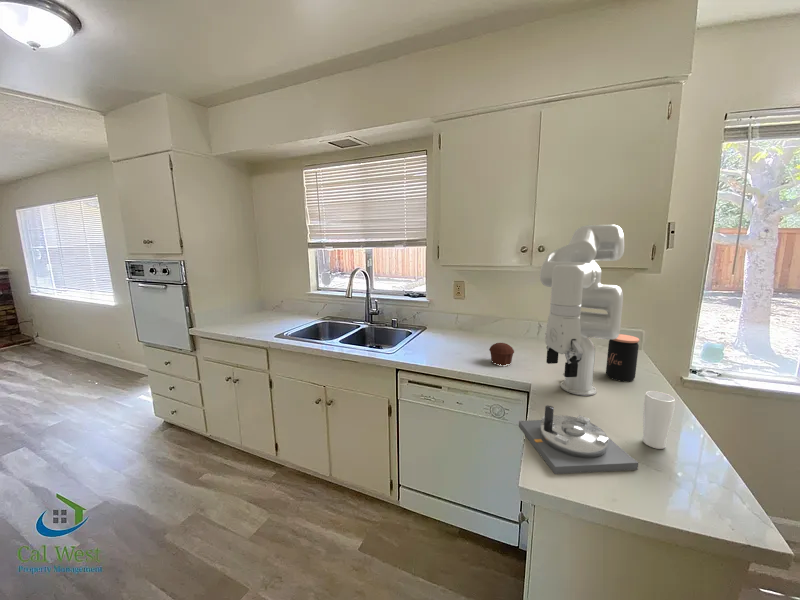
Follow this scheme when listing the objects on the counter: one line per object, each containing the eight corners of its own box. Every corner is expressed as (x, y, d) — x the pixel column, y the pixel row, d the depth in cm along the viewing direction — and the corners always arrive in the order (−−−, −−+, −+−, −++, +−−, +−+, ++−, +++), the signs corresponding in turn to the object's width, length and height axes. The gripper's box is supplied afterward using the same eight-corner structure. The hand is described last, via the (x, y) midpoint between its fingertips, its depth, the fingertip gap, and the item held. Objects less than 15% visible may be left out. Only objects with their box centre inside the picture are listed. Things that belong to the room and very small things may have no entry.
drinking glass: (655, 437, 99) (661, 390, 96) (675, 451, 92) (682, 401, 89) (633, 437, 98) (639, 390, 96) (651, 451, 92) (658, 401, 89)
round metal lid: (553, 456, 87) (556, 423, 85) (532, 422, 103) (534, 393, 102) (620, 458, 85) (624, 424, 84) (588, 423, 102) (590, 394, 101)
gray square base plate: (518, 426, 105) (519, 420, 105) (585, 423, 106) (585, 417, 106) (554, 473, 83) (555, 466, 83) (637, 469, 85) (638, 461, 84)
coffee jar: (600, 372, 149) (604, 333, 146) (625, 372, 148) (630, 334, 145) (613, 381, 138) (617, 340, 135) (640, 382, 137) (645, 341, 134)
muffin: (516, 362, 162) (517, 342, 161) (510, 369, 153) (511, 348, 152) (492, 357, 169) (493, 339, 167) (485, 364, 160) (486, 344, 158)
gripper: (537, 304, 98) (533, 359, 101) (569, 318, 81) (564, 383, 84) (561, 303, 98) (557, 358, 101) (599, 317, 81) (593, 382, 84)
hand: (560, 369), depth 92 cm, fingers open, 9 cm apart
